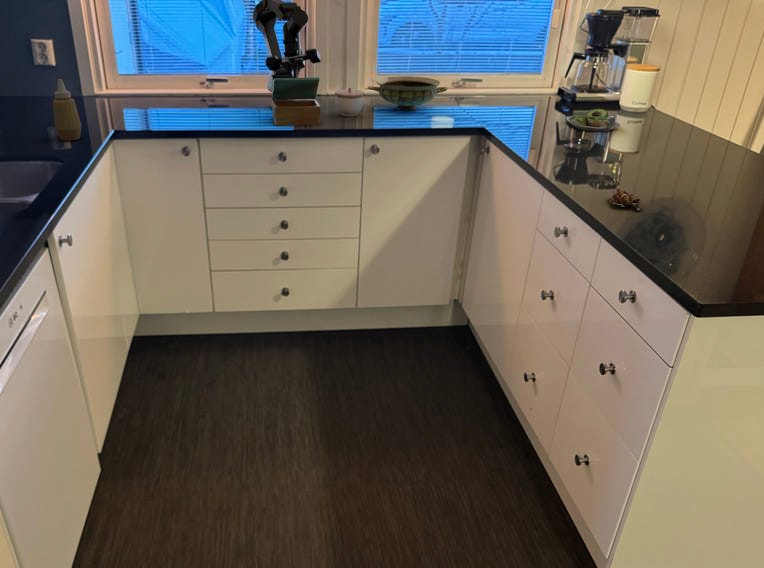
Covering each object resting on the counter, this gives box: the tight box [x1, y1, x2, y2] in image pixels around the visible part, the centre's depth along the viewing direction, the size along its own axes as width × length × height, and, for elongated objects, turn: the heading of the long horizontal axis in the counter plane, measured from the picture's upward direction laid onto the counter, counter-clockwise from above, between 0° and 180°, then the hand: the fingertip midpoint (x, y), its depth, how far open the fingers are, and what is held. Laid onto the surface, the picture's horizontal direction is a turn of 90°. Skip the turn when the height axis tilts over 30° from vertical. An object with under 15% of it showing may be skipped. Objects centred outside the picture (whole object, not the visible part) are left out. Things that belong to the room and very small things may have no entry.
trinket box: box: [334, 87, 365, 117], centre depth 253 cm, size 11×11×9 cm
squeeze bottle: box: [52, 78, 82, 142], centre depth 216 cm, size 8×8×18 cm
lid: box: [271, 76, 320, 101], centre depth 240 cm, size 13×16×1 cm
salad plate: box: [565, 108, 621, 132], centre depth 240 cm, size 19×18×5 cm
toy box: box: [271, 98, 321, 127], centre depth 243 cm, size 12×16×6 cm
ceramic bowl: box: [367, 75, 449, 111], centre depth 262 cm, size 30×24×10 cm
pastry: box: [608, 187, 641, 212], centre depth 171 cm, size 7×12×4 cm, turn 164°
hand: (294, 84), depth 240 cm, fingers closed
